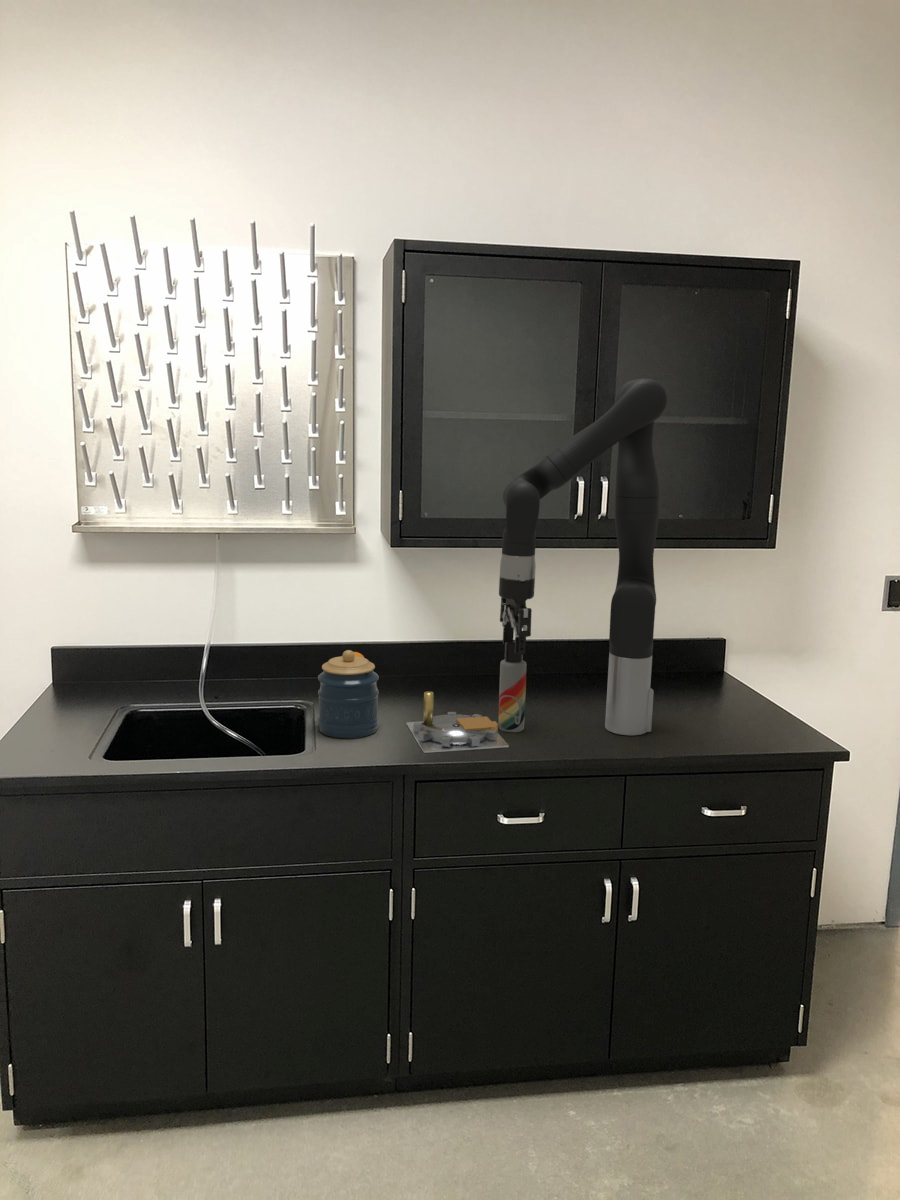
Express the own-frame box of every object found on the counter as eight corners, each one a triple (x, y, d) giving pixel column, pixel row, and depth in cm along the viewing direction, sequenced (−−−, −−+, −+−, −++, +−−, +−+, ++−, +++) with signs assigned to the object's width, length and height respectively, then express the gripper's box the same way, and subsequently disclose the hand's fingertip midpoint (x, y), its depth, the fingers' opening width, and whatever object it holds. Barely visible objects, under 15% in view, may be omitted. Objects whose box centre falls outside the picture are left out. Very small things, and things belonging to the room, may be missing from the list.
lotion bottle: (508, 734, 202) (511, 644, 198) (493, 726, 206) (495, 638, 202) (529, 730, 205) (532, 641, 201) (513, 722, 210) (516, 635, 206)
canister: (310, 737, 198) (310, 656, 194) (327, 717, 210) (326, 641, 207) (371, 741, 196) (371, 659, 192) (384, 721, 208) (384, 644, 205)
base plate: (484, 719, 211) (484, 717, 211) (508, 747, 194) (508, 745, 194) (406, 724, 207) (406, 722, 207) (423, 752, 190) (423, 751, 190)
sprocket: (418, 716, 210) (418, 680, 208) (498, 720, 209) (499, 683, 207) (408, 745, 192) (409, 705, 190) (496, 749, 191) (497, 709, 189)
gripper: (491, 569, 205) (487, 641, 208) (510, 581, 191) (506, 658, 195) (523, 569, 207) (520, 640, 210) (545, 581, 193) (541, 657, 196)
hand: (513, 649), depth 202 cm, fingers open, 8 cm apart
